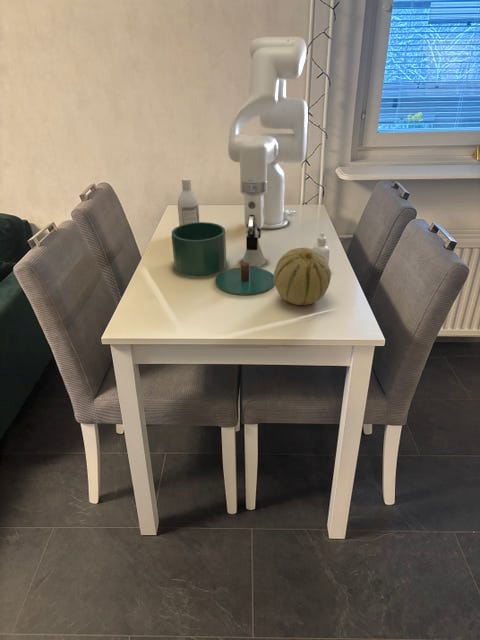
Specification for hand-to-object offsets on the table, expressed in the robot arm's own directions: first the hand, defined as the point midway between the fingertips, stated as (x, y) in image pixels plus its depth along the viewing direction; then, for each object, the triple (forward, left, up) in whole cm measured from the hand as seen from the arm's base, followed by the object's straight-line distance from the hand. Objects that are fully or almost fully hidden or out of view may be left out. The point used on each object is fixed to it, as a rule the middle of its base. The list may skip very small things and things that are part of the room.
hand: (253, 243), depth 150 cm
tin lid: (+8, +12, -6) cm, 15 cm away
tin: (+16, -4, -7) cm, 18 cm away
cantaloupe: (-1, +28, -7) cm, 28 cm away
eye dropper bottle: (-15, +14, -7) cm, 21 cm away
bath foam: (+11, -30, -7) cm, 33 cm away
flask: (0, 0, -7) cm, 7 cm away
